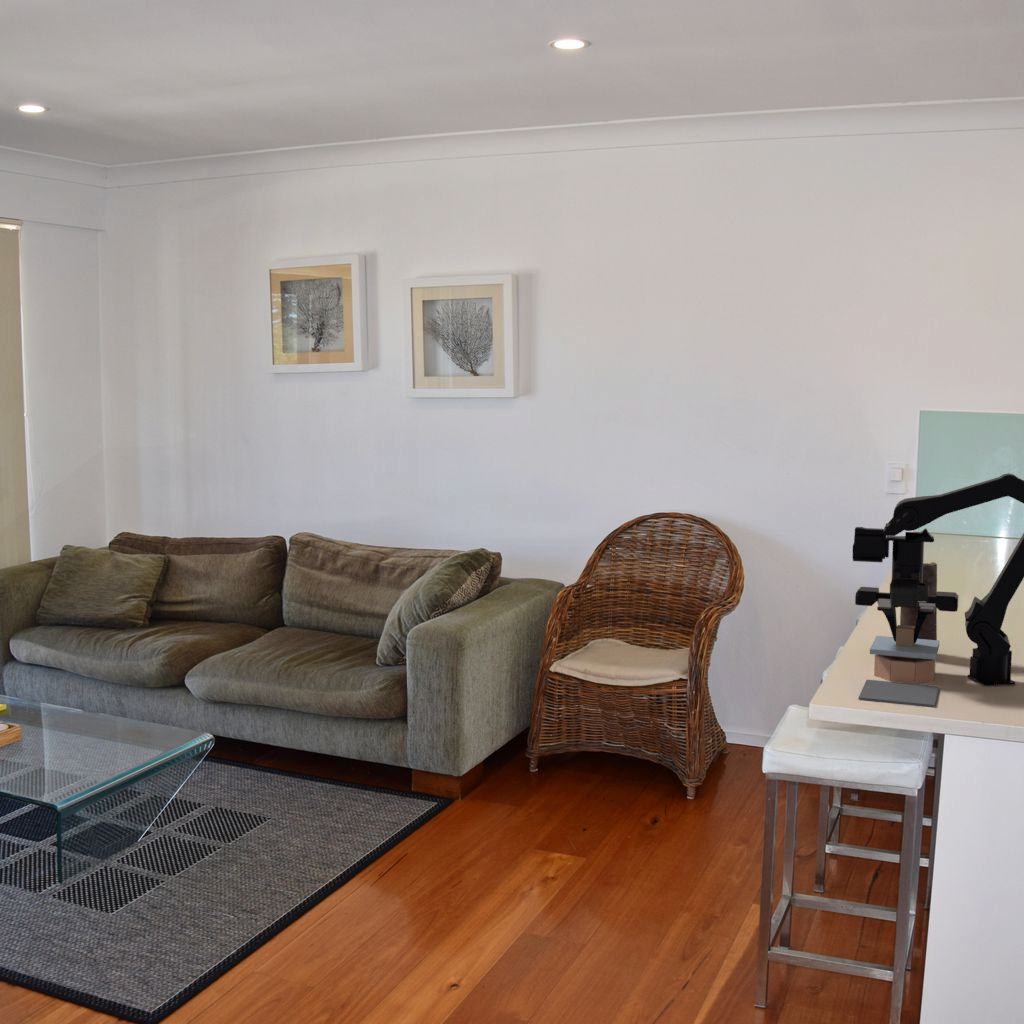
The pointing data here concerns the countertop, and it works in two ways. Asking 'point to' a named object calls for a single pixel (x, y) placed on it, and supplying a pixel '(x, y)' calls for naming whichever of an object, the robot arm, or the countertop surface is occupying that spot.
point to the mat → (899, 693)
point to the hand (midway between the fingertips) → (905, 642)
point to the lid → (905, 645)
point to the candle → (910, 614)
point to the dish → (904, 669)
